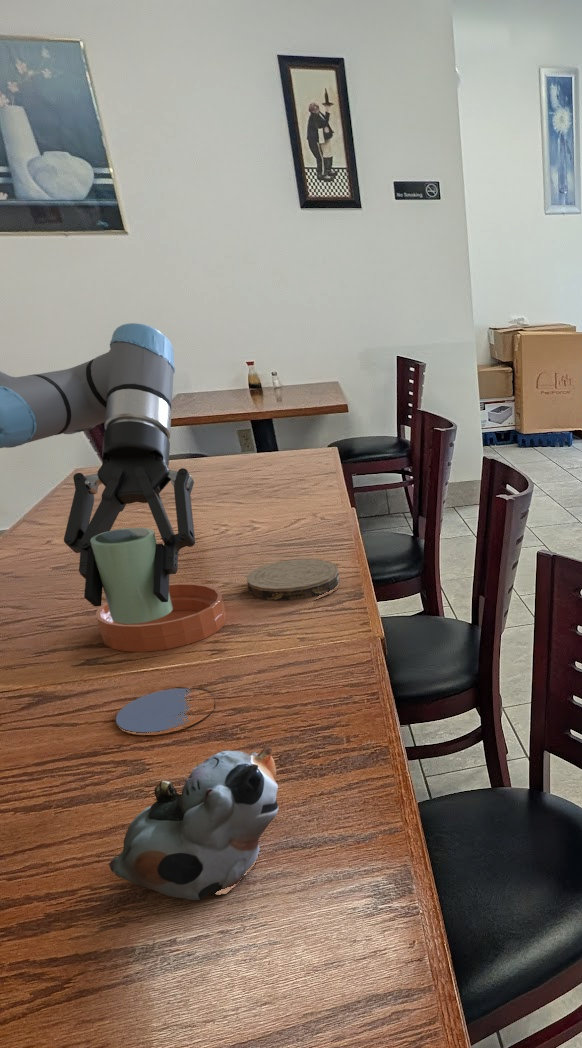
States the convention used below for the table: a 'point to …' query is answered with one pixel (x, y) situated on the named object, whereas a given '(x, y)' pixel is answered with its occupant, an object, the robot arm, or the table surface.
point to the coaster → (154, 711)
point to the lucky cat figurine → (202, 827)
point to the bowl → (168, 621)
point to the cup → (129, 574)
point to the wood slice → (293, 579)
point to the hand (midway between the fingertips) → (126, 599)
